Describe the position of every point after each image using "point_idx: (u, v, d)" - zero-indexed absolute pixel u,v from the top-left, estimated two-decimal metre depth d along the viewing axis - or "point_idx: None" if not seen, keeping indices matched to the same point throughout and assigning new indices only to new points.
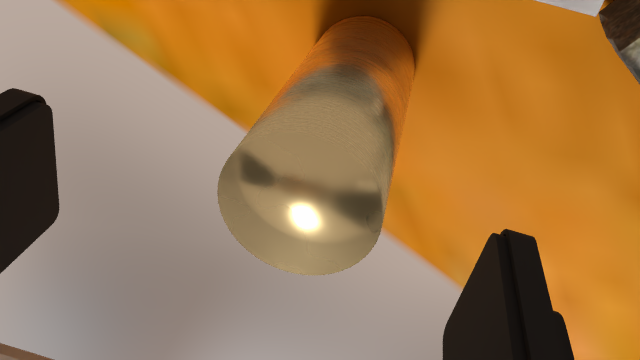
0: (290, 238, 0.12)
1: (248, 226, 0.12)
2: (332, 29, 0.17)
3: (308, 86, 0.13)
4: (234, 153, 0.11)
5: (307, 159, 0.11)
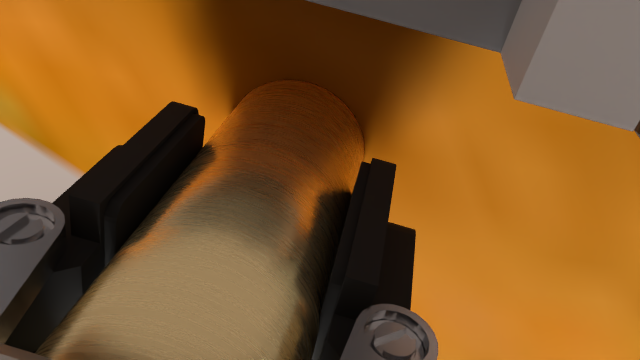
0: None
1: None
2: (246, 101, 0.13)
3: (163, 241, 0.08)
4: None
5: None
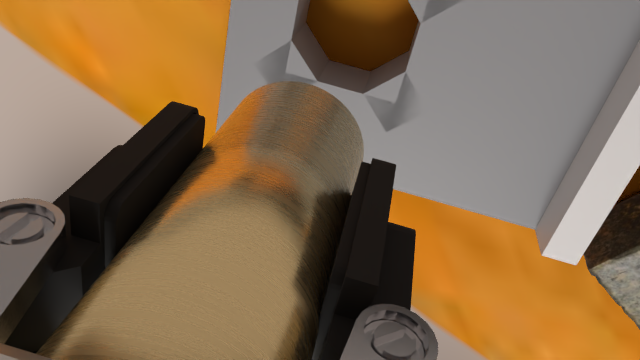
0: None
1: None
2: (246, 102, 0.13)
3: (162, 243, 0.08)
4: None
5: None
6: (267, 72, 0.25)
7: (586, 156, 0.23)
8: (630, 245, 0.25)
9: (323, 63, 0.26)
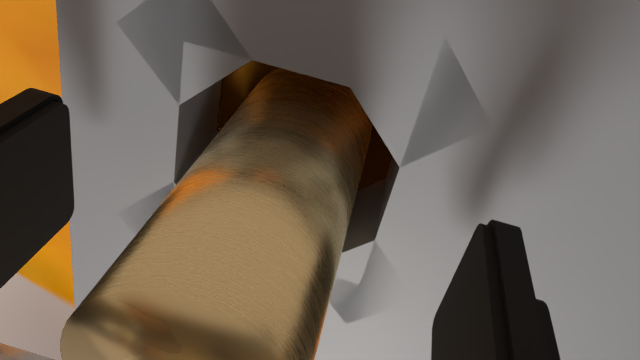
0: None
1: None
2: (265, 80, 0.14)
3: (204, 189, 0.09)
4: (75, 313, 0.07)
5: (181, 327, 0.07)
6: (141, 227, 0.14)
7: None
8: None
9: None
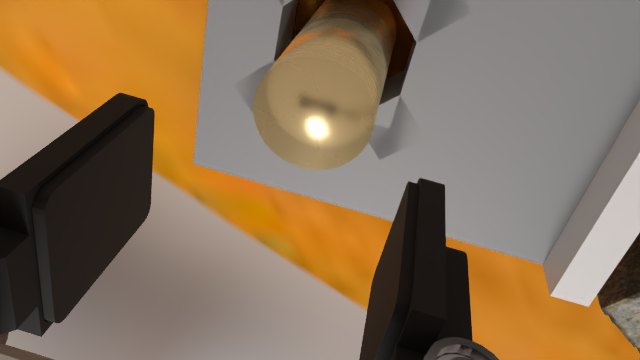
0: (306, 140, 0.16)
1: (275, 132, 0.16)
2: None
3: (316, 31, 0.17)
4: (266, 74, 0.15)
5: (320, 76, 0.15)
6: (248, 94, 0.22)
7: (600, 189, 0.20)
8: None
9: None
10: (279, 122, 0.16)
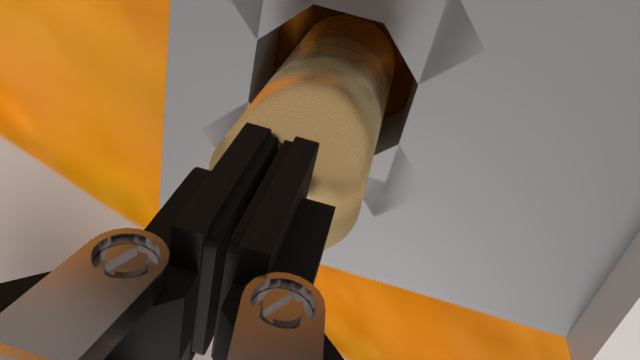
0: None
1: None
2: (316, 27, 0.18)
3: (291, 79, 0.13)
4: (223, 140, 0.12)
5: None
6: (219, 140, 0.19)
7: None
8: None
9: None
10: None
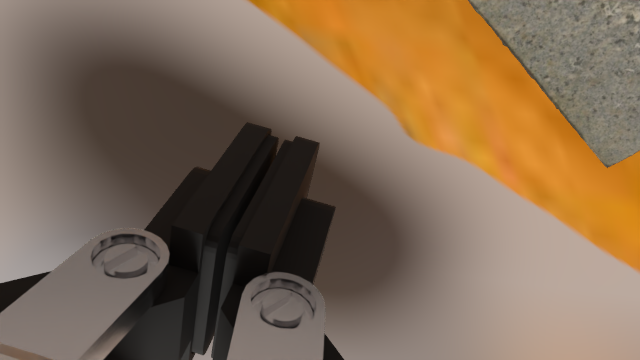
0: None
1: None
2: None
3: None
4: None
5: None
6: None
7: None
8: None
9: None
10: None
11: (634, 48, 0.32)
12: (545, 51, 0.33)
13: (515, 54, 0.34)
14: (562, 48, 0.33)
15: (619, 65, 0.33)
